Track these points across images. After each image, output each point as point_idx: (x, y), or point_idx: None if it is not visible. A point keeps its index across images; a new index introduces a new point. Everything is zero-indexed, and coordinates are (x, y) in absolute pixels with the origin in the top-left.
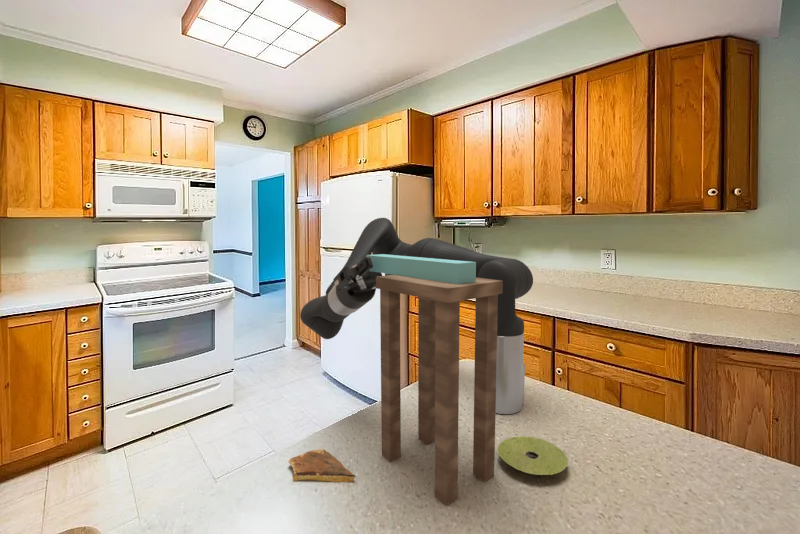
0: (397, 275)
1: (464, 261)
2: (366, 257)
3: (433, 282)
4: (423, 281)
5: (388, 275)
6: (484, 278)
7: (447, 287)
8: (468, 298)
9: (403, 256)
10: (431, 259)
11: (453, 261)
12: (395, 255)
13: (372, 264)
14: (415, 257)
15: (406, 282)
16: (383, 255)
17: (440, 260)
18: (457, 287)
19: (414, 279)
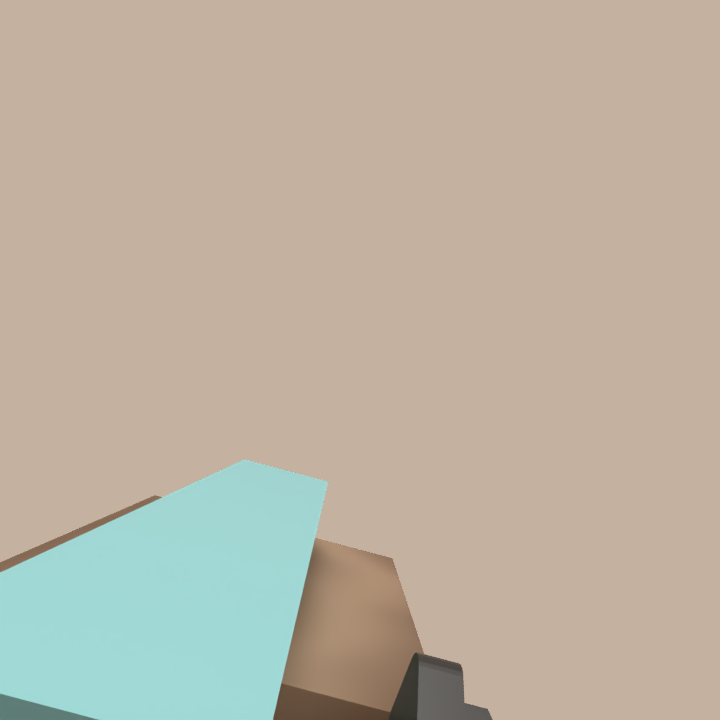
0: (293, 665)
1: (252, 466)
2: (459, 668)
3: (342, 573)
4: (353, 587)
5: (338, 696)
6: (132, 506)
7: (381, 558)
8: None
9: (167, 526)
10: (260, 489)
11: (277, 475)
12: (85, 551)
13: (393, 711)
14: (202, 503)
15: (409, 618)
16: (162, 606)
17: (274, 484)
18: (355, 549)
19: (340, 605)
